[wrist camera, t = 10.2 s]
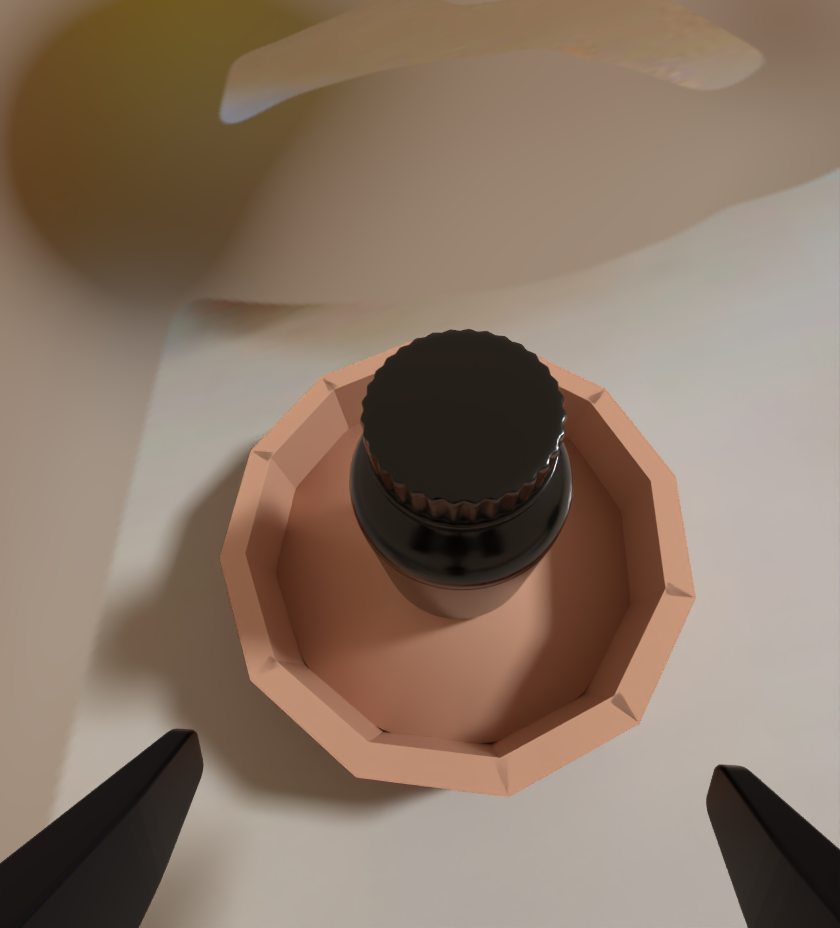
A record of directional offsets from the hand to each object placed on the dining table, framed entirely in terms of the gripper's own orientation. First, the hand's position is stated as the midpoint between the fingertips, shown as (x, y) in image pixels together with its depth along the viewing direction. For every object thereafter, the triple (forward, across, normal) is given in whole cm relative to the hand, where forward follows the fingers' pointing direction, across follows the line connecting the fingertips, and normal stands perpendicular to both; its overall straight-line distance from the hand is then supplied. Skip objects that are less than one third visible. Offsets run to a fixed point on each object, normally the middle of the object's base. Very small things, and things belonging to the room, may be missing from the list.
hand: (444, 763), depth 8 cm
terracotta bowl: (+14, 0, +4) cm, 14 cm away
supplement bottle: (+13, 0, +3) cm, 14 cm away
